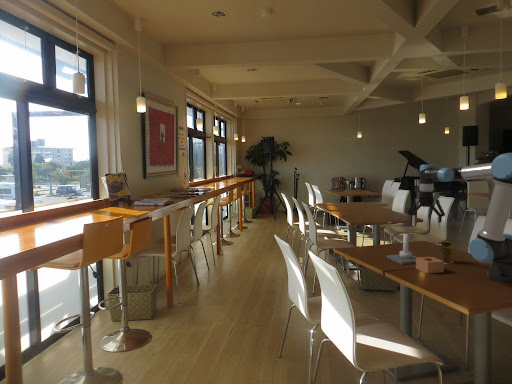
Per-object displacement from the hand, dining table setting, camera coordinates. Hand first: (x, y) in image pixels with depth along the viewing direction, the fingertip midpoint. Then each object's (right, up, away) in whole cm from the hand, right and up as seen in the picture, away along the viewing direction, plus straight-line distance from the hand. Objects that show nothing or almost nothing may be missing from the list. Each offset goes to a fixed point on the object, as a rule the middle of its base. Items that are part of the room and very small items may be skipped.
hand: (425, 227), depth 220 cm
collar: (-4, -23, -13) cm, 26 cm away
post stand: (-9, -21, +8) cm, 24 cm away
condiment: (+13, -22, +4) cm, 25 cm away
